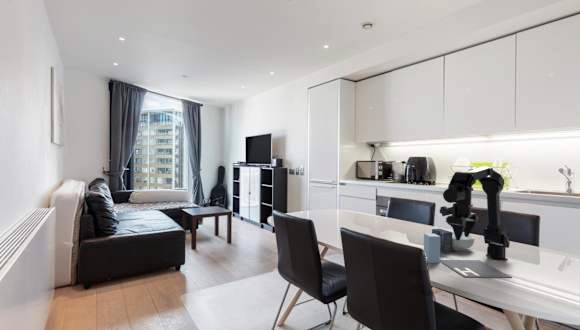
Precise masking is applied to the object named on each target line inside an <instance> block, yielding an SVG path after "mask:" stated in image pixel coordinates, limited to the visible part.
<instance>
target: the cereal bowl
mask: <svg viewBox="0 0 580 330" xmlns="http://www.w3.org/2000/svg"><path fill="white" fill-rule="evenodd" d="M451 232H452V251H463V250H466V249H470V248H472V246H473V245H474V243H475V237H474V236H472V235H471V234H469V236H468V237H465V235H464V232H463V233H462V236H461V238H460V240H456V237H455V234H454V231H451Z"/></svg>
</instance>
